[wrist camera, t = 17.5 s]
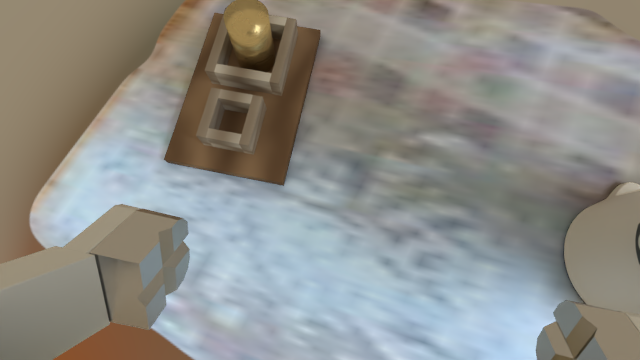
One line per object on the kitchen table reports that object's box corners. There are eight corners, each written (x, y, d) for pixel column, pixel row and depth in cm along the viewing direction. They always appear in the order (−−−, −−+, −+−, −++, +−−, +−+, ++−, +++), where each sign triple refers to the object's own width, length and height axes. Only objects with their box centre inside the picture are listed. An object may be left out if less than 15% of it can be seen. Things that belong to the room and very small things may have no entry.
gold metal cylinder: (278, 44, 50) (271, 0, 42) (272, 77, 48) (265, 38, 40) (241, 40, 50) (227, -5, 42) (234, 73, 48) (219, 33, 41)
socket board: (320, 35, 51) (319, 14, 47) (283, 185, 45) (279, 175, 41) (217, 18, 52) (207, -4, 48) (168, 162, 46) (153, 150, 42)
